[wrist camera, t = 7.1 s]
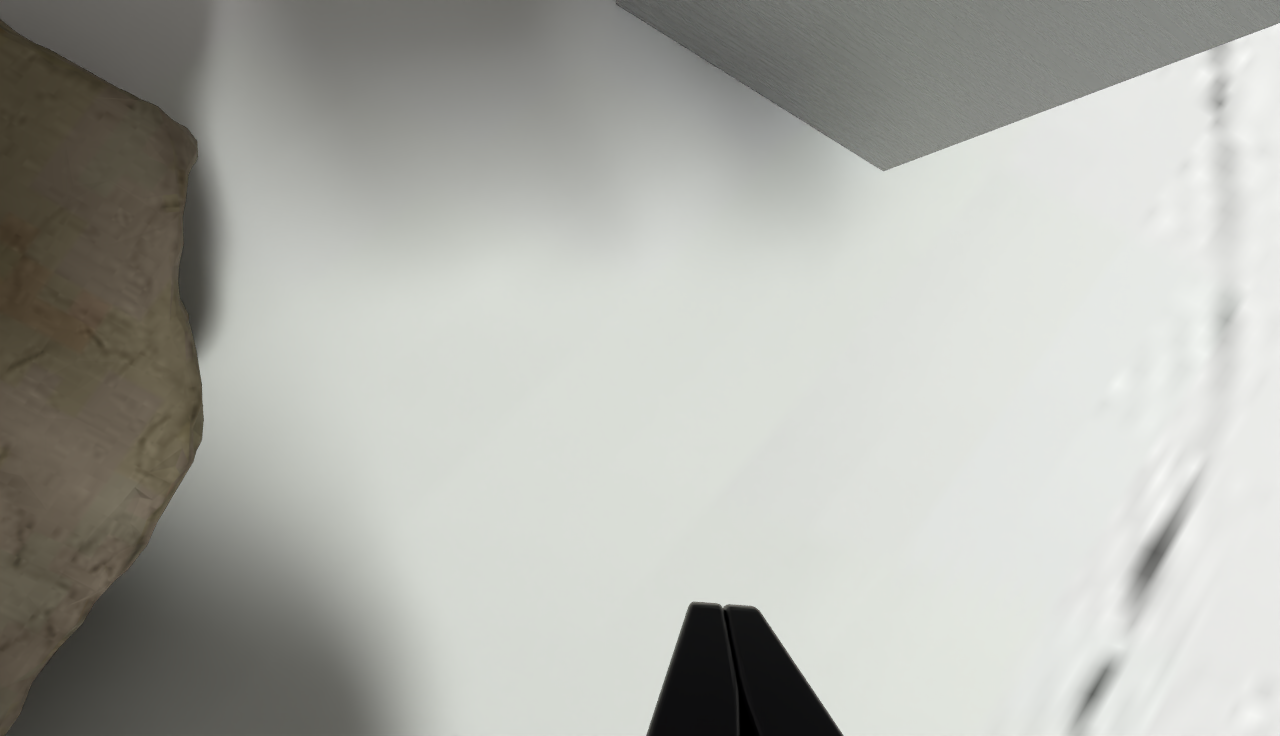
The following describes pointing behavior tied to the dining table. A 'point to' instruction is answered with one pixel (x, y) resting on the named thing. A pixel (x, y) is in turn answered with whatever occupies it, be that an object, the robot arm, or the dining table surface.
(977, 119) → the gray bookend
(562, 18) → the dining table surface
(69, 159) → the marble piece
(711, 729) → the robot arm
